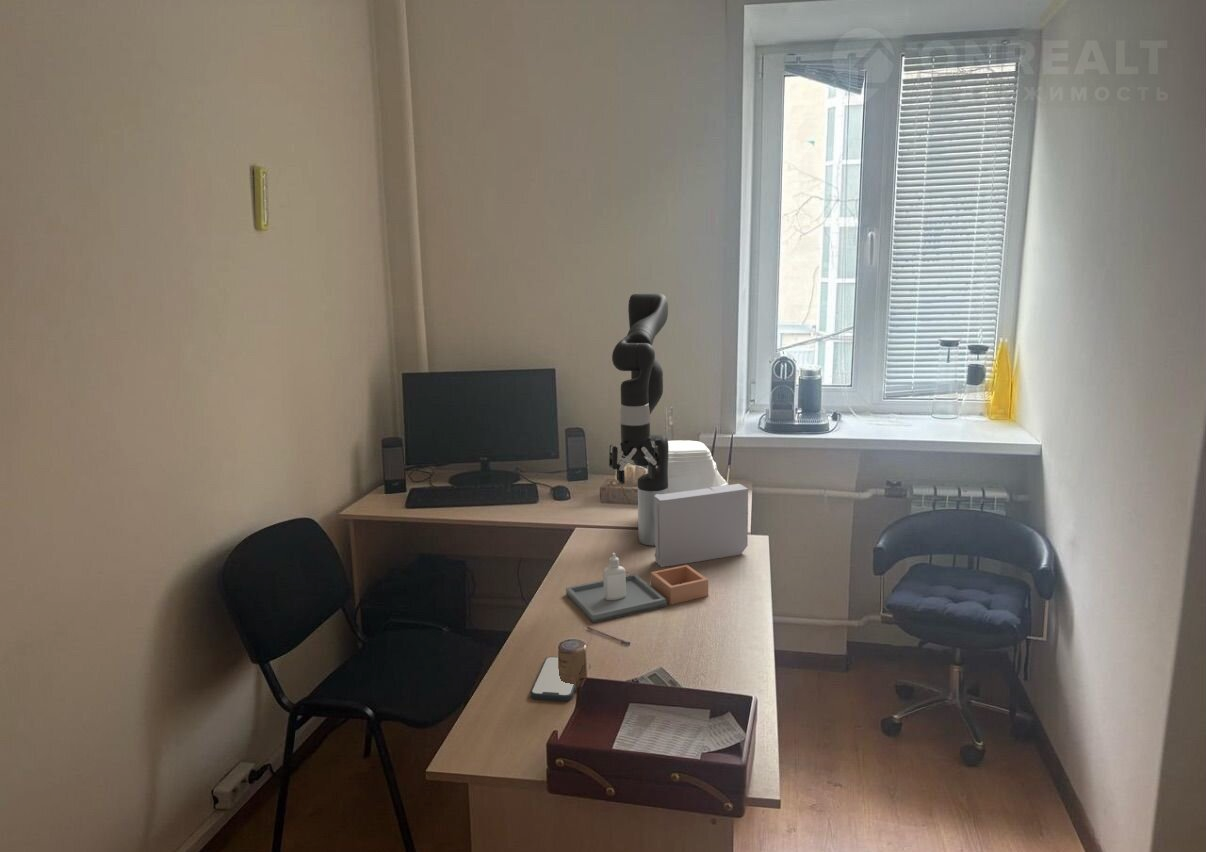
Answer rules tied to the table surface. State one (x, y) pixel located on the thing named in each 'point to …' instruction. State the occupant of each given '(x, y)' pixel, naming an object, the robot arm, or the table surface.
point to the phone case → (551, 683)
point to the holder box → (680, 592)
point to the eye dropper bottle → (614, 580)
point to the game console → (700, 524)
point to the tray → (601, 609)
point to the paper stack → (691, 467)
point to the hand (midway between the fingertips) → (636, 480)
